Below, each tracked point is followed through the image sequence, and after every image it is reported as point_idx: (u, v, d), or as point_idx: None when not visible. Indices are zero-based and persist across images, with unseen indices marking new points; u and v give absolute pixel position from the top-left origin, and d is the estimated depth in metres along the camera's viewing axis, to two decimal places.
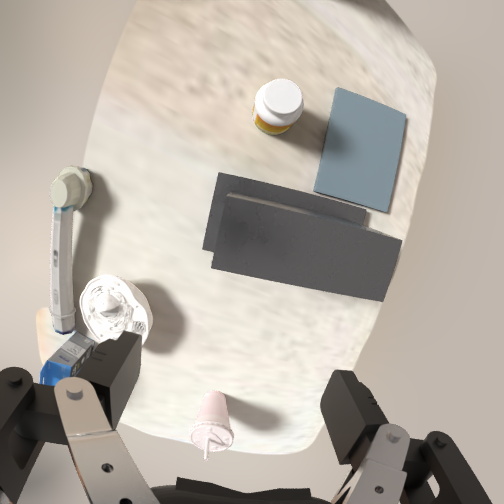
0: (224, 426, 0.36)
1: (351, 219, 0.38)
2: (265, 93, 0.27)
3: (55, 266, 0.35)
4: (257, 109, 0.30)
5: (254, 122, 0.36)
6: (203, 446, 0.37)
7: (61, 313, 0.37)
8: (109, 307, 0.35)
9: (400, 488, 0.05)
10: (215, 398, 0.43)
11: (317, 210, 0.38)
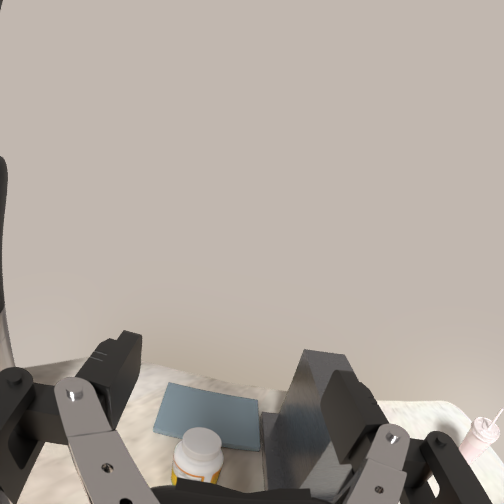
0: (472, 427, 0.31)
1: (274, 420, 0.41)
2: (203, 453, 0.24)
3: None
4: (211, 471, 0.24)
5: None
6: (495, 428, 0.29)
7: None
8: None
9: (400, 488, 0.05)
10: None
11: (277, 443, 0.36)
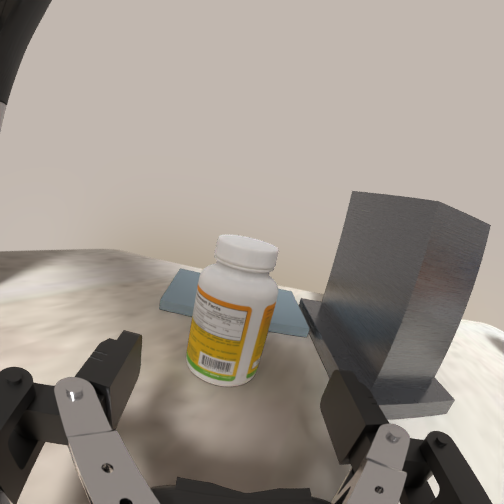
0: None
1: (318, 306, 0.35)
2: (254, 248, 0.18)
3: None
4: (263, 297, 0.18)
5: (245, 377, 0.19)
6: None
7: None
8: None
9: (400, 488, 0.05)
10: None
11: (329, 324, 0.30)
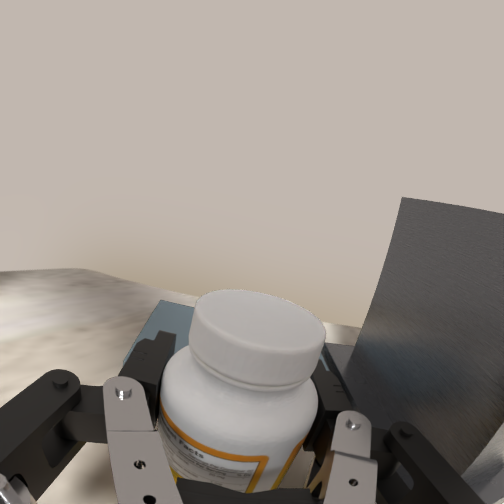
0: None
1: (348, 354, 0.24)
2: (277, 345, 0.07)
3: None
4: (293, 433, 0.07)
5: None
6: None
7: None
8: None
9: (374, 477, 0.05)
10: None
11: (368, 387, 0.20)
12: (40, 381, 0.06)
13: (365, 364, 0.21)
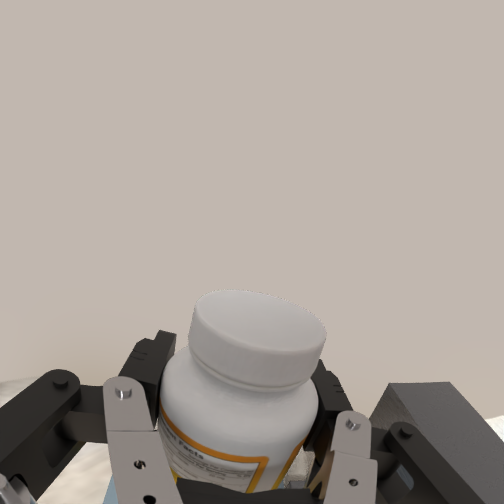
0: None
1: None
2: (278, 346, 0.07)
3: None
4: (293, 434, 0.07)
5: None
6: None
7: None
8: None
9: (374, 477, 0.05)
10: None
11: None
12: (40, 381, 0.06)
13: None
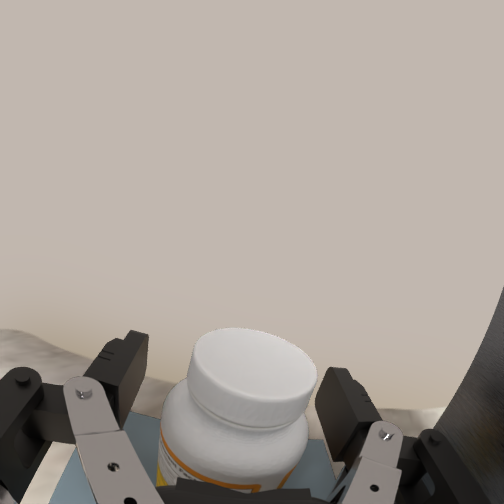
0: None
1: None
2: (270, 394, 0.07)
3: None
4: (284, 465, 0.08)
5: None
6: None
7: None
8: None
9: (395, 486, 0.05)
10: None
11: None
12: (3, 381, 0.05)
13: None
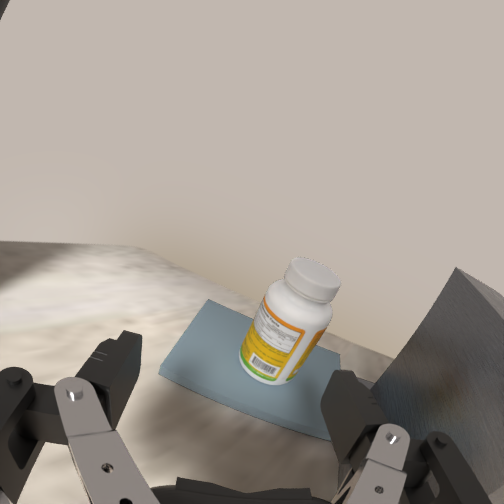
0: None
1: None
2: (319, 283, 0.20)
3: None
4: (317, 323, 0.20)
5: (285, 380, 0.23)
6: None
7: None
8: None
9: (400, 488, 0.05)
10: None
11: None
12: None
13: None
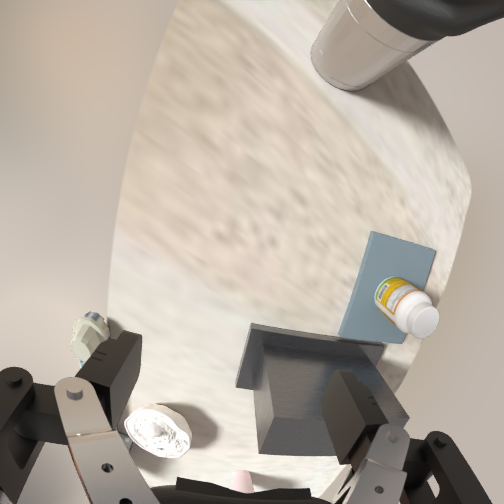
0: None
1: (369, 356, 0.40)
2: (414, 323, 0.29)
3: None
4: (397, 322, 0.32)
5: (376, 305, 0.38)
6: None
7: None
8: (155, 434, 0.36)
9: (400, 488, 0.05)
10: (243, 478, 0.44)
11: (340, 353, 0.39)
12: None
13: (354, 358, 0.39)
